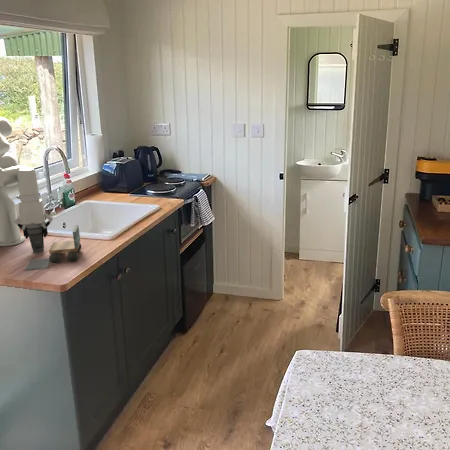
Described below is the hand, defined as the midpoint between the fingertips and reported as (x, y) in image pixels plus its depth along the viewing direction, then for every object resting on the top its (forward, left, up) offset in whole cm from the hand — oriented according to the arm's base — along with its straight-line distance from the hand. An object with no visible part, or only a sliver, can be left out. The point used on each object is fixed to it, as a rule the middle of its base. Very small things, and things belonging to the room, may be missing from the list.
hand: (36, 236), depth 216 cm
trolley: (+13, -10, -7) cm, 18 cm away
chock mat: (+3, -16, -7) cm, 18 cm away
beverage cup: (0, 0, -7) cm, 7 cm away
